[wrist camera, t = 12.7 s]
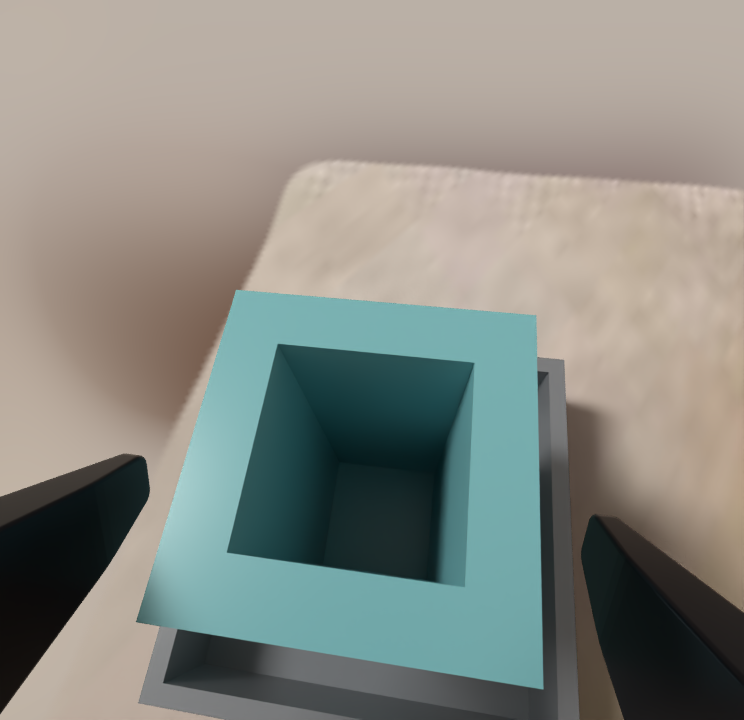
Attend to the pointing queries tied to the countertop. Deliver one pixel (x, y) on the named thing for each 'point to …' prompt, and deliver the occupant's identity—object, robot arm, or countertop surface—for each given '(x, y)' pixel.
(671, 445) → the countertop surface
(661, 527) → the countertop surface
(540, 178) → the countertop surface
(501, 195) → the countertop surface
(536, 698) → the gray square tray
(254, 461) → the teal square planter
